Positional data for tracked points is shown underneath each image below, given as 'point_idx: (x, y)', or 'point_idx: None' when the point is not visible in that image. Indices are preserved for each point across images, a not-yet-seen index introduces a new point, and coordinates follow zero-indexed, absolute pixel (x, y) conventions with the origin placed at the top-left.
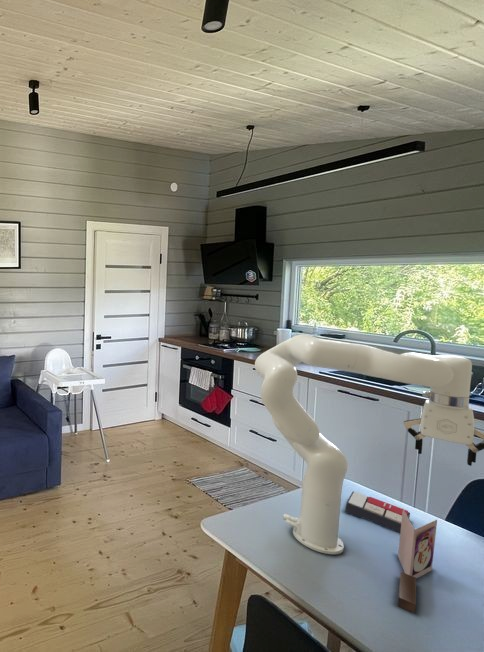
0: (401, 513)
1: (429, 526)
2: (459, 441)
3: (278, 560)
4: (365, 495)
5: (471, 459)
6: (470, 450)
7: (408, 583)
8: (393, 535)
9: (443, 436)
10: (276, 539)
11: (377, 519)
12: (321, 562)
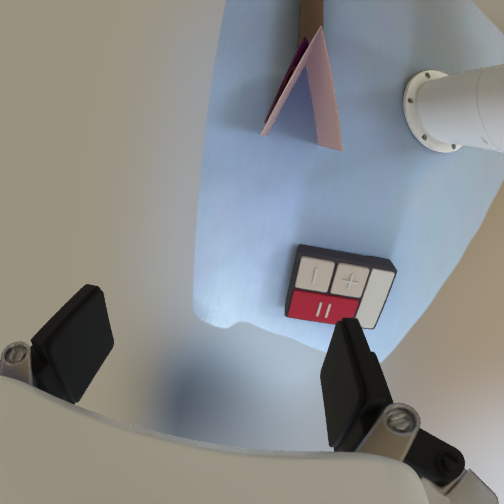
0: (301, 296)
1: (281, 97)
2: (25, 404)
3: (465, 25)
4: None
5: (65, 305)
6: (45, 364)
7: (310, 29)
8: (318, 227)
9: (161, 486)
10: None
11: (344, 255)
12: (424, 45)
